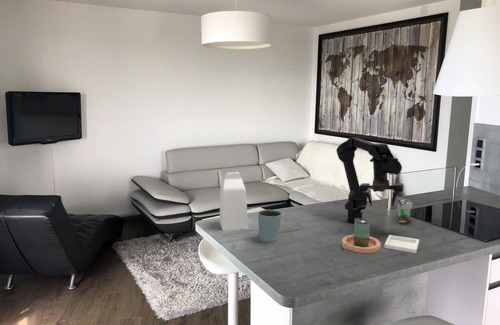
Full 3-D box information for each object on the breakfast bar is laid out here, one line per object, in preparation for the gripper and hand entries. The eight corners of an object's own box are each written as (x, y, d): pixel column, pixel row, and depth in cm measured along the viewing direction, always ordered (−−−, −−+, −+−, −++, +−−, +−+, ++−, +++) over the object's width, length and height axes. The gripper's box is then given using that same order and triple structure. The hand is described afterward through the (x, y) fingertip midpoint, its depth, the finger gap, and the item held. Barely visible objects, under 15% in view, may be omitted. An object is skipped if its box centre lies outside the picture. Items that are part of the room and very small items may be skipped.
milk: (222, 230, 185) (221, 176, 180) (219, 222, 196) (218, 170, 191) (248, 228, 187) (247, 174, 182) (243, 220, 198) (243, 169, 193)
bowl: (338, 250, 162) (338, 244, 161) (347, 238, 175) (347, 232, 174) (376, 258, 155) (376, 251, 154) (382, 244, 168) (383, 238, 167)
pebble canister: (351, 246, 163) (353, 221, 161) (355, 241, 169) (356, 216, 167) (367, 249, 161) (368, 223, 158) (370, 244, 166) (371, 219, 164)
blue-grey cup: (254, 236, 177) (254, 210, 175) (274, 233, 181) (274, 208, 179) (264, 244, 168) (264, 217, 166) (285, 241, 172) (285, 214, 170)
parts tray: (384, 250, 162) (384, 244, 162) (388, 240, 173) (389, 234, 172) (415, 255, 157) (416, 249, 157) (418, 245, 167) (419, 239, 167)
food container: (413, 225, 191) (415, 205, 189) (400, 224, 192) (401, 204, 191) (408, 217, 203) (410, 198, 201) (396, 216, 204) (397, 197, 202)
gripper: (355, 175, 175) (357, 210, 177) (400, 175, 166) (402, 211, 168) (360, 171, 185) (362, 204, 186) (403, 170, 176) (404, 205, 178)
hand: (382, 206), depth 179 cm, fingers open, 9 cm apart
